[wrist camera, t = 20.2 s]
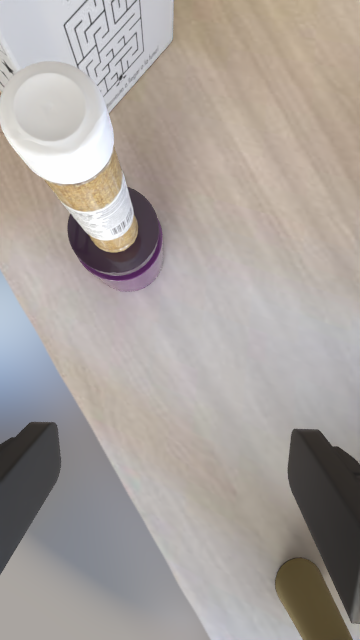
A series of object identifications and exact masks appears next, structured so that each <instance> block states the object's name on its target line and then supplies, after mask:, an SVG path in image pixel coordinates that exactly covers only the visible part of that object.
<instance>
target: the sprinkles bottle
mask: <svg viewBox="0 0 360 640" xmlns="http://www.w3.org/2000/svg"><path fill="white" fill-rule="evenodd" d="M0 124H1V128H2V131H3V133H4V135H5V137H6V138H7V140H8V142H9V143H10V144H11V146H12V147H13V148H14V150H15V151H16V152H17V153H18V155H19V156H20V157H21V158H22V159H23V161H24V162H25V163H26V164H27V166H28V167H29V168H30V169H31V170H32V171H33V172H35V173H36V174H37V175H39V176H40V177H41V178H43V179H44V180H45V182H46V183H47V184H48V185H49V186H50V188H51V189H52V190H53V191H54V193H55V195H56V196H57V198H58V199H59V200H60V201H61V202H62V204H63V205H64V206H65V207H66V208H67V210H68V211H69V212H70V213H71V215H72V216H73V217H74V218H75V219H76V221H77V222H78V223H79V224H80V226H81V227H82V228H83V229H84V231H85V232H86V233H87V234H89V236H90V238H91V240H92V241H93V242H94V244H95V245H96V246H97V247H99V248H100V249H102V250H104V251H106V252H121V251H124V250H126V249H127V248H129V247H130V246H131V245H132V244H133V243H134V241H135V239H136V237H137V234H138V223H137V219H136V217H135V215H134V212H133V207H132V203H131V199H130V196H129V192H128V188H127V185H126V181H125V177H124V174H123V172H122V169H121V167H120V165H119V161H118V158H117V154H116V151H115V148H114V134H113V128H112V124H111V121H110V117H109V114H108V111H107V107H106V104H105V101H104V98H103V96H102V94H101V92H100V90H99V88H98V87H97V85H96V84H95V83H94V81H93V80H92V79H91V78H90V77H89V76H88V75H87V74H85V73H84V72H83V71H81V70H80V69H78V68H76V67H74V66H72V65H70V64H67V63H63V62H57V61H43V62H38V63H34V64H31V65H29V66H27V67H25V68H23V69H21V70H19V71H18V72H17V73H16V74H15V75H14V76H13V77H12V78H11V79H10V80H9V81H8V82H7V84H6V85H5V87H4V89H3V91H2V94H1V97H0Z"/></svg>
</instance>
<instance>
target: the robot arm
mask: <svg viewBox="0 0 360 640" xmlns="http://www.w3.org/2000/svg"><path fill="white" fill-rule="evenodd" d="M60 468H61V457H60V447H59V438H58V428H57V425H56V424H55V423H54V422H31V423H29V424H28V425H27V426H26V427H25V428H24V429H23V430H22V431H21V432H20V433H19V434H18V435H17V436H16V437H14V438H13V437H12V438H10V439H8V440H7V441H5V442H4V443H2V444H0V574H1V573H2V571H3V569H4V568H5V566H6V564H7V563H8V561H9V559H10V557H11V556H12V554H13V553H14V551H15V549H16V548H17V546H18V544H19V543H20V541H21V540H22V538H23V536H24V535H25V533H26V531H27V529H28V528H29V526H30V524H31V523H32V521H33V520H34V518H35V516H36V515H37V513H38V511H39V510H40V508H41V506H42V505H43V503H44V501H45V500H46V498H47V496H48V495H49V493H50V491H51V490H52V488H53V486H54V485H55V483H56V481H57V479H58V476H59V473H60ZM288 479H289V484H290V488H291V490H292V493H293V495H294V497H295V499H296V502H297V504H298V506H299V508H300V510H301V513H302V515H303V517H304V519H305V521H306V524H307V526H308V528H309V530H310V533H311V535H312V537H313V539H314V541H315V544H316V546H317V548H318V550H319V552H320V555H321V557H322V559H323V561H324V563H325V566H326V568H327V570H328V572H329V574H330V577H331V579H332V581H333V583H334V585H335V588H336V590H337V592H338V594H339V596H340V599H341V601H342V603H343V605H344V607H345V610H346V612H347V614H348V616H349V618H350V621H351V623H356V624H360V464H359V463H358V462H357V461H356V460H355V459H354V458H353V457H352V456H350V455H349V454H348V453H346V452H345V451H343V450H342V449H341V448H339V447H333V446H332V445H331V444H330V443H329V442H328V440H327V439H326V438H325V437H324V435H323V434H322V433H321V432H320V431H319V430H317V429H294V430H293V431H292V434H291V443H290V452H289V461H288Z"/></svg>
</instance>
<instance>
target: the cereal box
mask: <svg viewBox="0 0 360 640" xmlns="http://www.w3.org/2000/svg"><path fill="white" fill-rule="evenodd" d="M173 15H174V0H0V91H1V92H2V91H3V89H4V87H5V85H6V84H7V82H8V81H9V80H10V79H11V78H12V77H13V76H14V75H15V74H16V73H17V72H18V71H19V70H21V69H23V68H25V67H27V66H29V65H31V64H34V63H38V62H43V61H57V62H63V63H67V64H70V65H72V66H74V67H76V68H78V69H80V70H81V71H83V72H84V73H85V74H87V75H88V76H89V77H90V78H91V79H92V80H93V81H94V83H95V84H96V85H97V87H98V88H99V90H100V92H101V94H102V96H103V98H104V101H105V104H106V107H107V111H108V114H109V112H110V111H111V110H112V109H113V108H114V107H115V106H116V104H117V103H118V102H119V101H120V100H121V99H122V98H123V96H124V95H125V94H126V93H127V92H128V91H129V90H130V89H131V87H132V86H133V85H134V84H135V83H136V82H137V81H138V79H139V78H140V77H141V76H142V75H143V74H144V73H145V71H146V70H147V69H148V68H149V67H150V66H151V65H152V63H153V62H154V61H155V60H156V59H157V58H158V57H159V55H160V54H161V53H162V52H163V51H164V50H165V49H166V47H167V46H168V45H169V44H170V43H171V42H172V39H173Z"/></svg>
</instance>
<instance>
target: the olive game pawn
mask: <svg viewBox="0 0 360 640" xmlns="http://www.w3.org/2000/svg"><path fill="white" fill-rule="evenodd" d="M275 589H276V591H277V594H278V597H279V599H280V600H281V602H282V604H283V605H284V607H285V609H286V611H287V612H288V614H289V616H290V618H291V619H292V621H293V623H294V625H295V626H296V628H297V630H298V632H299V633H300V635H301V637H302V639H303V640H353V639H352V637H351V635H350V633H349V631H348V629H347V626H346V624H345V622H344V620H343V618H342V616H341V614H340V612H339V610H338V608H337V606H336V604H335V602H334V600H333V598H332V595H331V593H330V591H329V589H328V587H327V585H326V583H325V581H324V579H323V577H322V575H321V573H320V571H319V569H318V568H317V566H316V565H315V564H314V563H312V562H311V561H309V560H307V559H304V558H294V559H292V560H289V561H287V562H286V563H285V564H284V565H282V566H281V568H280V569H279V571H278V573H277V576H276V580H275Z"/></svg>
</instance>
